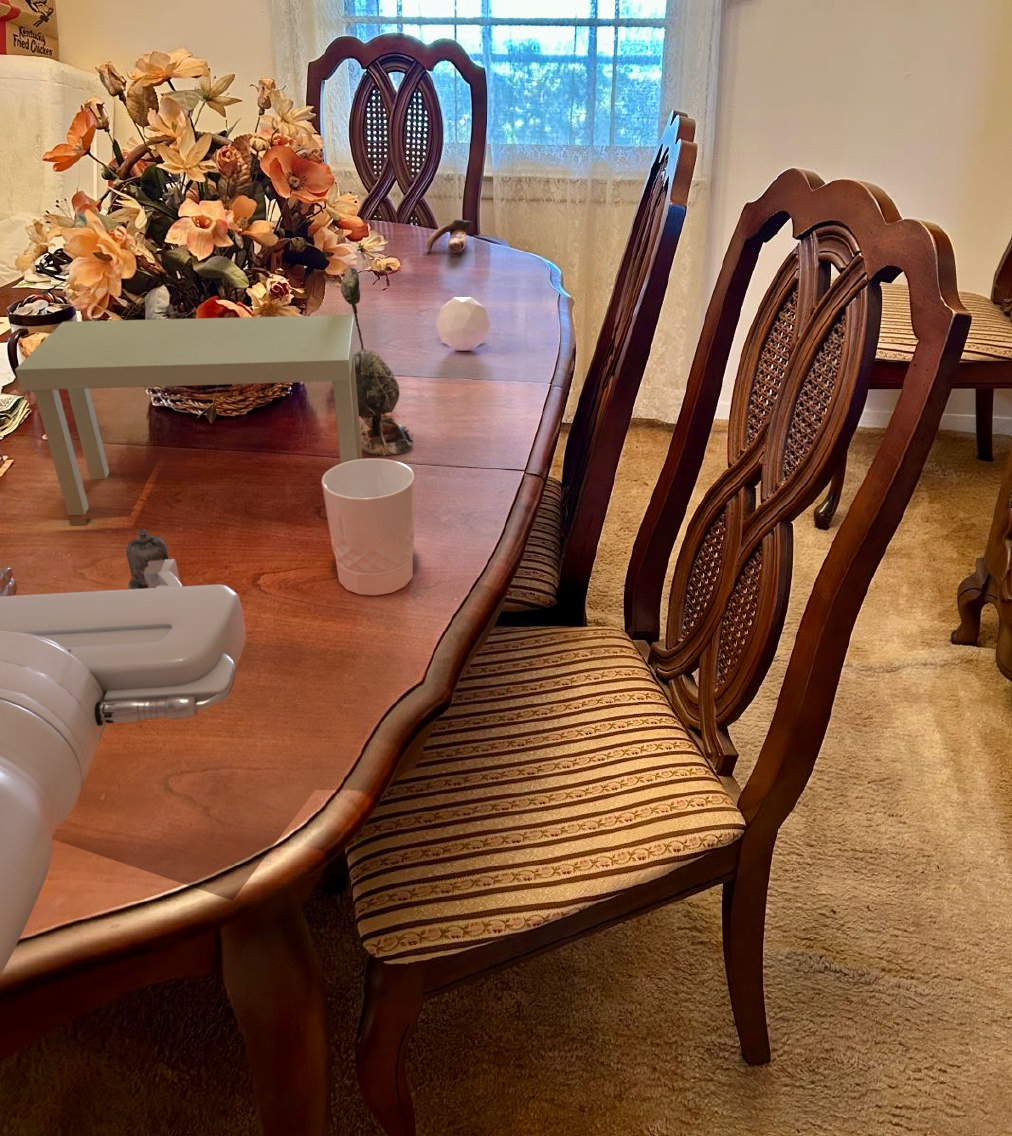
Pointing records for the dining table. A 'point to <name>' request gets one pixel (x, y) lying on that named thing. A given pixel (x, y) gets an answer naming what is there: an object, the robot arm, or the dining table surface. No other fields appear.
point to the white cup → (371, 524)
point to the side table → (181, 373)
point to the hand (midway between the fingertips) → (84, 573)
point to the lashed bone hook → (452, 235)
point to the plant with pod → (375, 391)
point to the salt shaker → (144, 556)
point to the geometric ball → (462, 323)
